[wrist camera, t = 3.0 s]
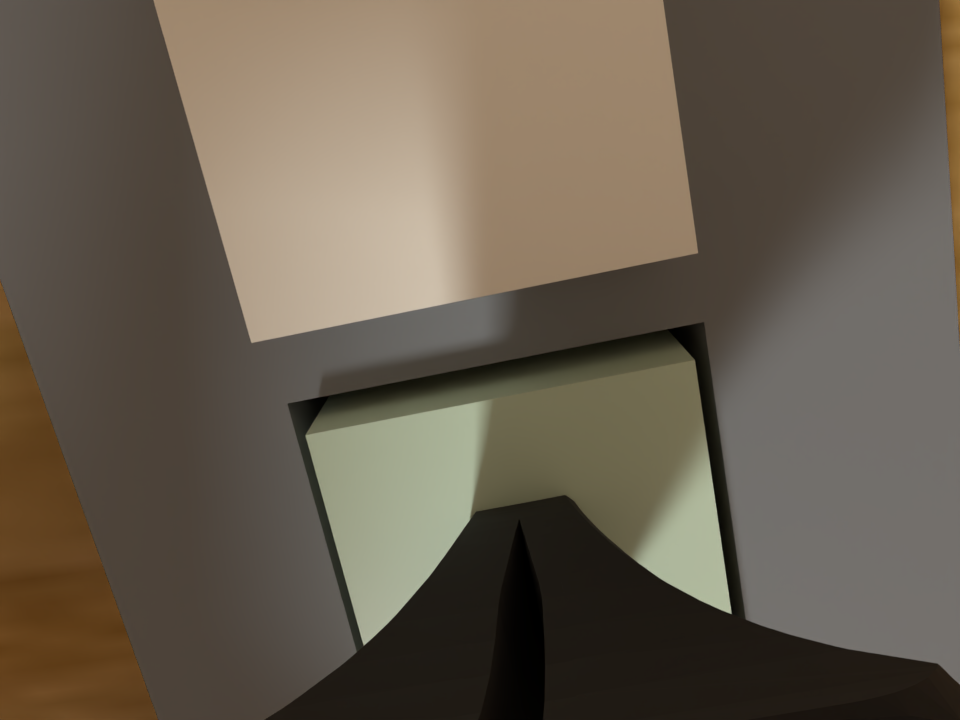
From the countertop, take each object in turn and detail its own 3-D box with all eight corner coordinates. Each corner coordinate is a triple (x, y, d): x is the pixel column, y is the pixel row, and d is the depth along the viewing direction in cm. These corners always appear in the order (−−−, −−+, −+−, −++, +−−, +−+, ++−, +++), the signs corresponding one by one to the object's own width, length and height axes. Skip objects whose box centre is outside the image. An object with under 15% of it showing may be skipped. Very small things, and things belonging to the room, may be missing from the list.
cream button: (647, 223, 12) (698, 253, 9) (308, 292, 12) (251, 342, 9) (587, -166, 11) (625, -278, 8) (211, -76, 11) (110, -152, 8)
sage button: (693, 586, 15) (744, 699, 12) (412, 636, 15) (394, 757, 12) (650, 310, 13) (695, 360, 10) (345, 370, 14) (305, 435, 11)
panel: (913, 888, 17) (1001, 1044, 14) (338, 974, 18) (309, 1139, 15) (807, -304, 12) (912, -449, 9) (-11, -107, 12) (-165, -179, 9)
